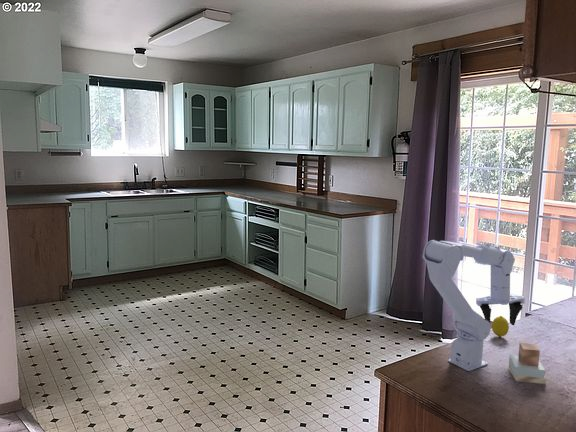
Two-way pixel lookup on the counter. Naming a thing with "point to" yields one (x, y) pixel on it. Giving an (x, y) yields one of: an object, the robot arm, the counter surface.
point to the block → (529, 354)
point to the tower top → (526, 368)
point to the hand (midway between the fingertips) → (500, 324)
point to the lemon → (500, 326)
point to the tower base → (527, 378)
